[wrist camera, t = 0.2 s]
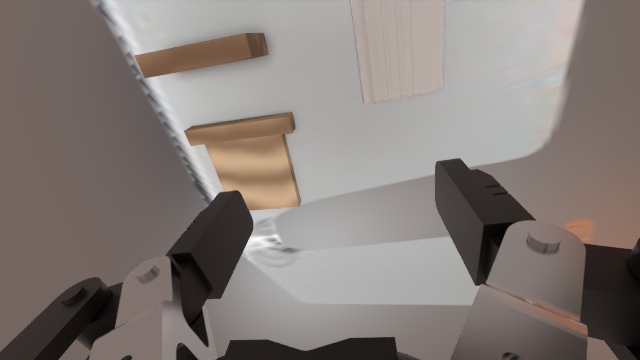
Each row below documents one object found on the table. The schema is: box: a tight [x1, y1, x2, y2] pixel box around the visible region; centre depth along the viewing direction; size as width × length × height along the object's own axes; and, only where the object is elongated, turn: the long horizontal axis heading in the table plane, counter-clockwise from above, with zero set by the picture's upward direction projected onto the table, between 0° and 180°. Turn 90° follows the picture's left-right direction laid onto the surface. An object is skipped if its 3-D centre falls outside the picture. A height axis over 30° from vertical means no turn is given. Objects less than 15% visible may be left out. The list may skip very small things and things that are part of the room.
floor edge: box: [184, 112, 301, 210], centre depth 42 cm, size 16×17×2 cm
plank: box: [135, 33, 268, 78], centre depth 32 cm, size 2×14×7 cm, turn 99°
